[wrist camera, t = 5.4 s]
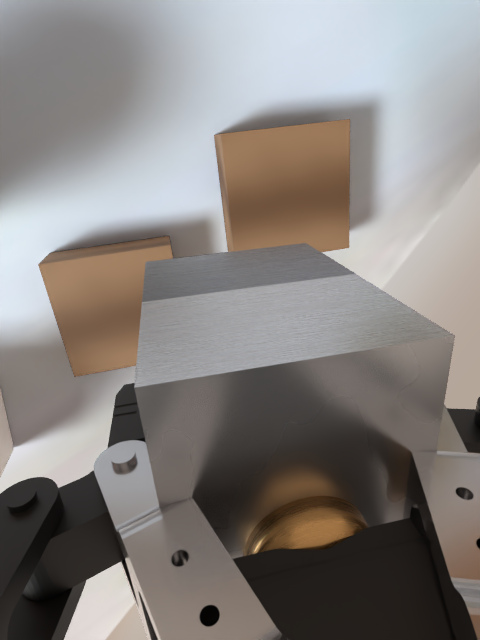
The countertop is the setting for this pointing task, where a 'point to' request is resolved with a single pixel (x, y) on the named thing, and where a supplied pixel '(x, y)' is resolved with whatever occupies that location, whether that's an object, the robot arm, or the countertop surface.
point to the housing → (284, 394)
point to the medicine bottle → (4, 437)
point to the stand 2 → (286, 186)
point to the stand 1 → (100, 300)
